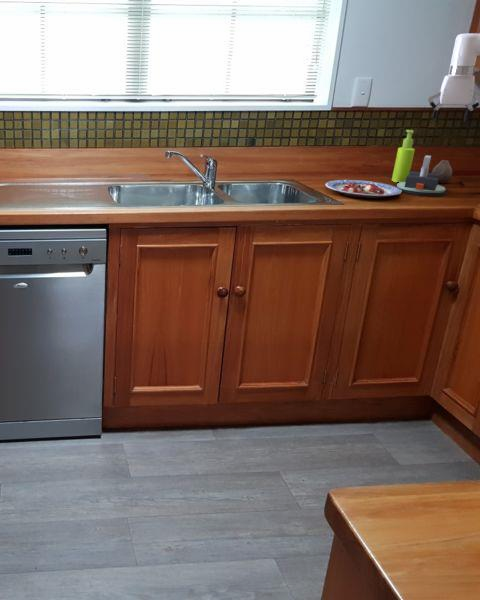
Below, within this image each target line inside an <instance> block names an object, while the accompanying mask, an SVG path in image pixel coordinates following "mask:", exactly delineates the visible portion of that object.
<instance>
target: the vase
mask: <svg viewBox="0 0 480 600" xmlns="http://www.w3.org/2000/svg"><path fill="white" fill-rule="evenodd" d="M431 173H432V174H440V176H439V181H438V184H439V185H440V184H441V185H442V184H443V185H444V184H446V183H448V182H449V181H450V180H451V178H452V175H453V169H452V166H451V165H450V161H449V160H446V159H441V161H440V162H439V163H437V164H436V165H435V166H434V167H433V169H432V171H431Z"/></svg>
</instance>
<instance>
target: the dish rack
mask: <svg viewBox="0 0 480 600" xmlns="http://www.w3.org/2000/svg"><path fill="white" fill-rule="evenodd" d="M431 157H432V155H425V156H424V158H423V163H422V166H421V168H420V171H411V170H410V173H409V175H408V176H407V178H406V182H400V183H397V184H396V186H397V187H399V188H401V189H404V190H409V191H414V192H423V193H441V192H444V191H446V187H445V186H442V185H440V184H439V183H438V181H439V176H440V174H432V172H429V169H430V163H431V160H432V158H431Z"/></svg>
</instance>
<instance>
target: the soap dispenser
mask: <svg viewBox="0 0 480 600" xmlns="http://www.w3.org/2000/svg"><path fill="white" fill-rule="evenodd" d="M405 132H406V133H407V134H406V137H405V138H403V142H402V145H401V147H398V148H397V152H396V157H395V161H394V166H393V171H392V176H391V182H392V181H393V183H397V182H399V183H400V182H406V178H407V176H408V175H409V173H410V171H411V168H412V164H413V160H414V155H415V151H416V149H415V148H413V144H414V139H413V134H414V130H413V129H406V130H405Z"/></svg>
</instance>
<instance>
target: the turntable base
mask: <svg viewBox="0 0 480 600" xmlns="http://www.w3.org/2000/svg"><path fill="white" fill-rule="evenodd" d="M395 187H397V185H395ZM397 188H399V187H397ZM399 189H401V188H399ZM401 190H402V193H401V194H404V193H407V194H406V195H409V194H412V195H411V196H415V195H418V196H417V197H425V196H427V197H426V198H434V197H435V198H439V197H444V196H446V194H447V190H445V191H444V192H441V193H423V192H414V191H409V190H404V189H401Z"/></svg>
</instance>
